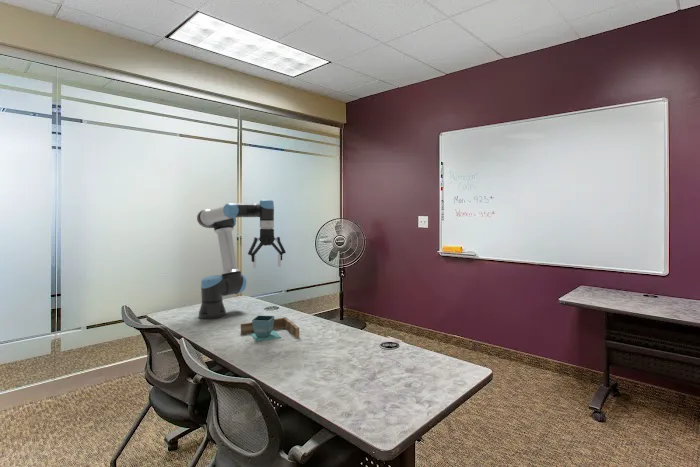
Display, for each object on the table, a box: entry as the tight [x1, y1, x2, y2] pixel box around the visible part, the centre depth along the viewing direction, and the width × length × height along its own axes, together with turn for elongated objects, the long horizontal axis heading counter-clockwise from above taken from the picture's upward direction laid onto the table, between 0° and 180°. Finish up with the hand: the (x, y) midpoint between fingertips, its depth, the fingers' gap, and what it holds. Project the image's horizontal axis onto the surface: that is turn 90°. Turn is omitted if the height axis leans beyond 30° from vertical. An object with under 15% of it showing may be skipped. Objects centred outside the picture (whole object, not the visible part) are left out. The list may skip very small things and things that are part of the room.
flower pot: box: [251, 315, 275, 337], centre depth 181 cm, size 9×9×9 cm
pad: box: [250, 329, 282, 343], centre depth 182 cm, size 12×12×1 cm
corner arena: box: [240, 316, 300, 339], centre depth 183 cm, size 20×24×5 cm
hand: (267, 267), depth 200 cm, fingers open, 13 cm apart
